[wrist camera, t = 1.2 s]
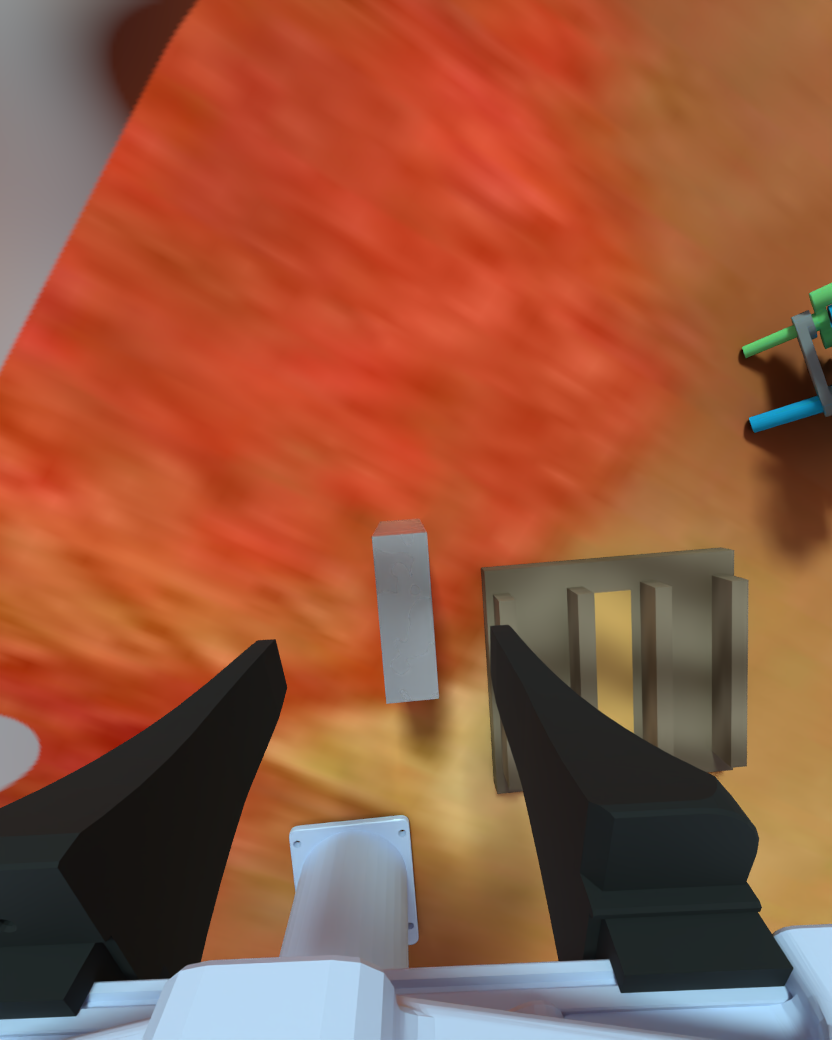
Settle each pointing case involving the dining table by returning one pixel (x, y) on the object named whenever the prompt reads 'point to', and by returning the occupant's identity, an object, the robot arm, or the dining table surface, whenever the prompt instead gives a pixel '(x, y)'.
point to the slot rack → (635, 647)
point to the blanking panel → (405, 610)
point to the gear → (805, 330)
